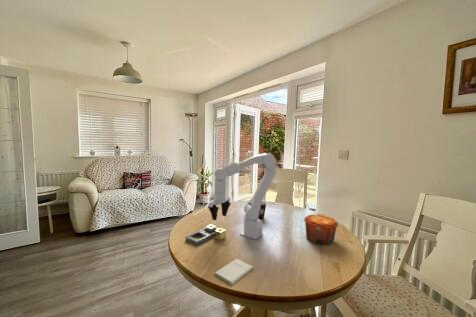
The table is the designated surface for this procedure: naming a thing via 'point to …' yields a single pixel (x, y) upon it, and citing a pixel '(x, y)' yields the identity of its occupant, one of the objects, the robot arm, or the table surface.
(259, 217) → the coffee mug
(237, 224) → the table surface
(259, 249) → the table surface
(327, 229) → the food container
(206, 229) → the cube with domed knob
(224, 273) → the external hard drive
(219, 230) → the tan wooden cube
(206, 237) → the grey rectangular slotted frame
